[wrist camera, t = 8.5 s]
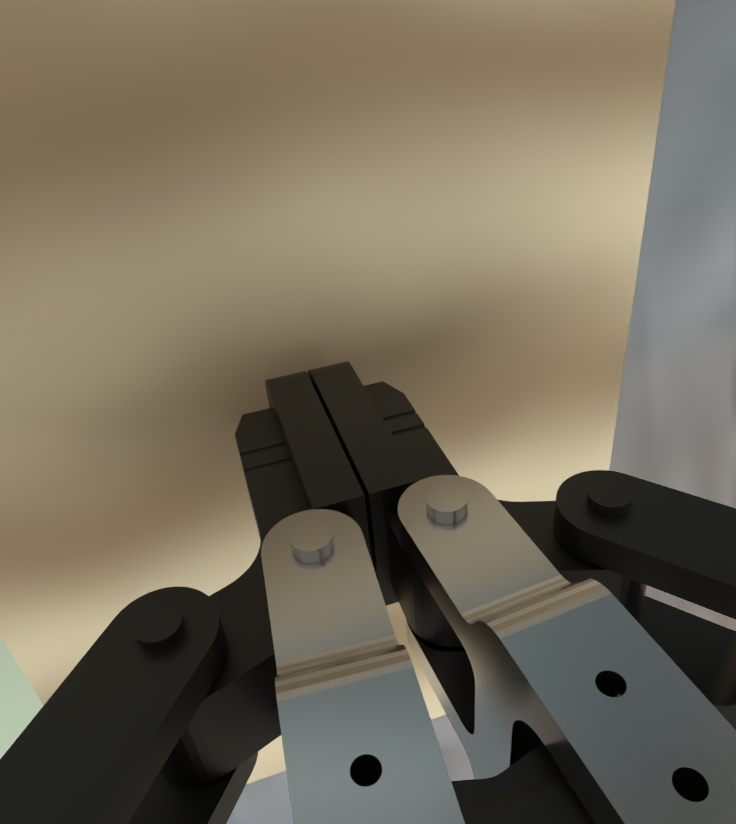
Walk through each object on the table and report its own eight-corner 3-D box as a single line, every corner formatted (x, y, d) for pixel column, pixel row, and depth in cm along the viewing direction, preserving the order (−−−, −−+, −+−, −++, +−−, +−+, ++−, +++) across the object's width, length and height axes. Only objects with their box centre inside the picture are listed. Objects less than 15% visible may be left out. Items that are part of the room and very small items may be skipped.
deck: (-360, -245, 9) (-606, -355, 6) (565, -285, 12) (728, -374, 9) (117, 701, 22) (119, 829, 19) (519, 575, 25) (581, 666, 21)
